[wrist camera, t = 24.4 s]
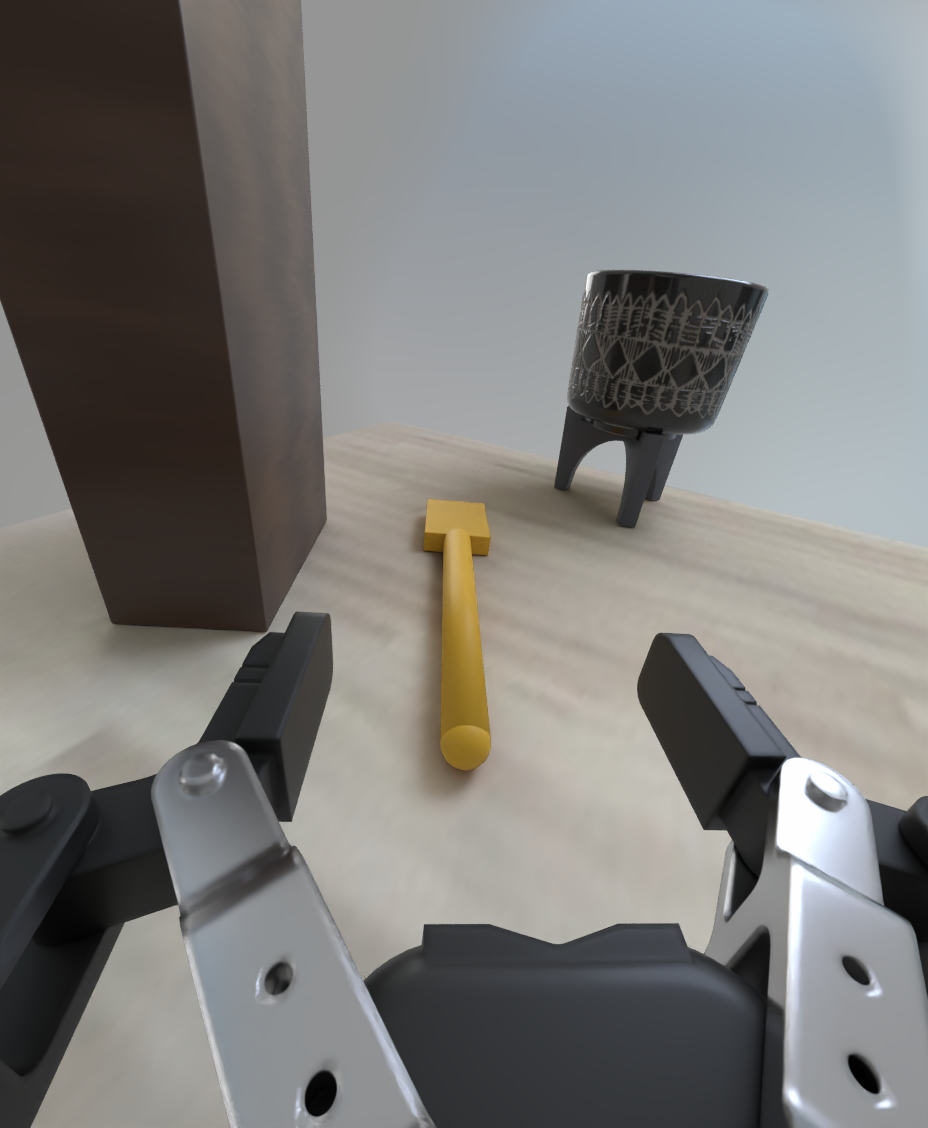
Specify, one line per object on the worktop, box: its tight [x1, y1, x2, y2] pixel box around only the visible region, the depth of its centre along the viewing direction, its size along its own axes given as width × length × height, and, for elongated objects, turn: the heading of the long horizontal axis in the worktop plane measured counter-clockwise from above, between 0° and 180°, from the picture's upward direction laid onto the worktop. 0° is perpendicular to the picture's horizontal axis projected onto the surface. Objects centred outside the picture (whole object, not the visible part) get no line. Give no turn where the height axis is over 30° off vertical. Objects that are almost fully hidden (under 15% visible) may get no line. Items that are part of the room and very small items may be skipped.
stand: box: [0, 0, 327, 631], centre depth 20 cm, size 14×9×30 cm, turn 2°
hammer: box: [423, 499, 491, 770], centre depth 25 cm, size 23×4×2 cm, turn 2°
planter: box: [554, 270, 769, 527], centre depth 38 cm, size 13×13×18 cm
